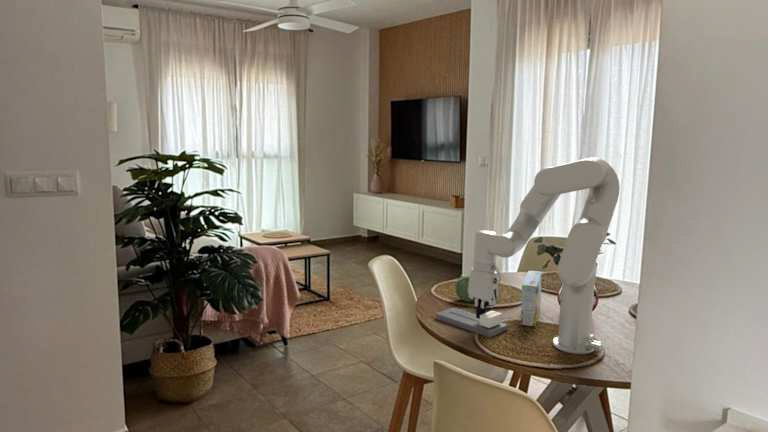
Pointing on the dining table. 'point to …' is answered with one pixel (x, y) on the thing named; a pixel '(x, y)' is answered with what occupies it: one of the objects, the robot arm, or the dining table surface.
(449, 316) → the grey slider track base
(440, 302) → the dining table surface
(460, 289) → the decorative artifact
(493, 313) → the fader knob
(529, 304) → the snack box
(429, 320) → the dining table surface
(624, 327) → the dining table surface
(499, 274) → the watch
